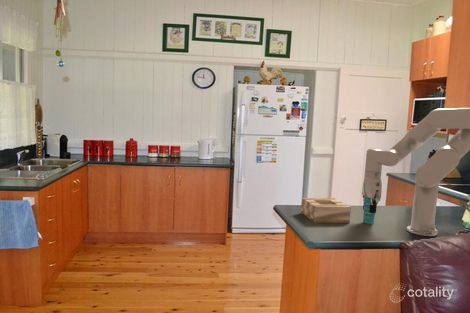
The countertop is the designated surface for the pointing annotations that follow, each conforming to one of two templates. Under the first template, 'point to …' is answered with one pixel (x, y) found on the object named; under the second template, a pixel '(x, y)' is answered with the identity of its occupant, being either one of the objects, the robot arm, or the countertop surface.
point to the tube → (367, 210)
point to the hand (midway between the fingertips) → (369, 210)
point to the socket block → (325, 210)
